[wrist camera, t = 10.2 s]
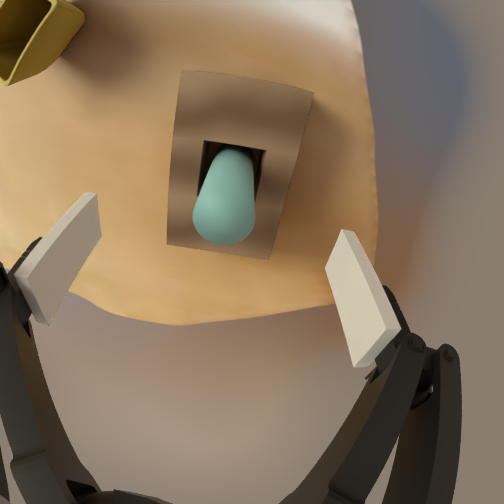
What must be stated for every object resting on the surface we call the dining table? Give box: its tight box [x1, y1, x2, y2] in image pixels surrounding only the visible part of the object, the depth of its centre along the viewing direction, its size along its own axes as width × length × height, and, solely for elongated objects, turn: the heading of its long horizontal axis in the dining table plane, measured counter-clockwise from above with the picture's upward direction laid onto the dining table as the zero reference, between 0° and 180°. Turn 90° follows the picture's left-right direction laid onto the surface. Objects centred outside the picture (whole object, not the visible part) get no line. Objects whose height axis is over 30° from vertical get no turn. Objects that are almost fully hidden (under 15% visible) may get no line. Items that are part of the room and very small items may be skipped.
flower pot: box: [0, 0, 85, 86], centre depth 12 cm, size 9×9×9 cm
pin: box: [193, 143, 255, 245], centre depth 21 cm, size 4×4×12 cm
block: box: [167, 70, 314, 260], centre depth 24 cm, size 16×10×6 cm, turn 169°
